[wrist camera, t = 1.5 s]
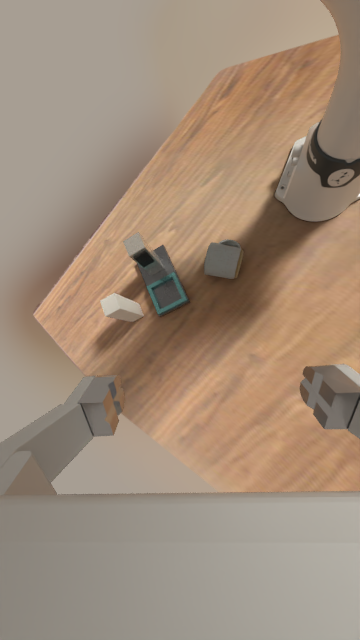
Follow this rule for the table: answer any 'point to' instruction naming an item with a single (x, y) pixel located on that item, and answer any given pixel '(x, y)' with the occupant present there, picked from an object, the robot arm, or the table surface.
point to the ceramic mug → (223, 259)
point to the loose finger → (121, 308)
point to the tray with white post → (157, 275)
